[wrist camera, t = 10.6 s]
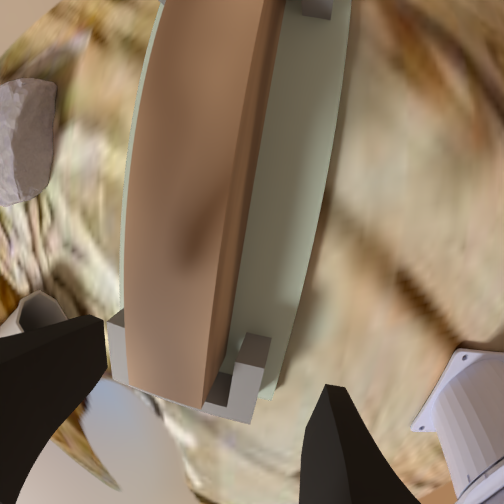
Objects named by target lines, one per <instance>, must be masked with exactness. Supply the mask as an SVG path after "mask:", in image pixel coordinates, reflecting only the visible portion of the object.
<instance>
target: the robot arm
mask: <svg viewBox="0 0 504 504" xmlns="http://www.w3.org/2000/svg"><path fill="white" fill-rule="evenodd" d="M464 355H465V357H463V356H464ZM462 357H463V358H462ZM107 367H108V365H107V356H106V347H105V335H104V322H103V320H102V319H99V318H97V317H95V316H92V315H90V314H89V315H84V316H80V317H76V318H72V319H69V320H65V321H62V322H59V323H55V324H52V325H48V326H45V327H41V328H38V329H34V330H31V331H27V332H22V333H18V334H14V335H10V336H6V337H1V338H0V504H16V501H17V498H18V496H19V493H20V490H21V488H22V486H23V484H24V482H25V480H26V478H27V476H28V474H29V472H30V470H31V468H32V466H33V464H34V463H35V461H36V459H37V457H38V456H39V454H40V453H41V451H42V450H43V448H44V447H45V445H46V444H47V442H48V441H49V439H50V438H51V436H52V435H53V434H54V432H55V431H56V430H57V429H58V427H59V426H60V425H61V424H62V423H63V422H64V421H65V420H66V419H67V417H68V416H69V415H70V414H71V413H72V412H73V411H74V410H75V409H76V408H77V406H78V405H79V404H80V403H81V402H82V401H83V400H84V399H85V398H86V396H87V395H88V394H89V393H90V392H91V391H92V390H93V388H94V387H95V386H96V384H97V383H98V381H99V380H100V378H101V377H102V375H103V374H104V372H105V371H106V369H107ZM410 428H411V431H413V432H437V435H438V438H439V441H440V444H441V447H442V450H443V453H444V456H445V459H446V462H447V465H448V469H449V472H450V475H451V479H452V482H453V486H454V489H455V493H456V497H457V502H456V503H454V504H504V353H503V352H491V351H481V350H471V349H462V348H460V349H457V350H456V351H455V352H454V353H453V355H452V357H451V359H450V361H449V363H448V365H447V366H446V368H445V370H444V372H443V374H442V376H441V377H440V379H439V381H438V383H437V385H436V386H435V388H434V390H433V391H432V393H431V395H430V396H429V398H428V400H427V401H426V403H425V404H424V406H423V408H422V409H421V411H420V412H419V414H418V415H417V417H416V418H415V420H414V421H413V423H412V424H411V426H410ZM299 504H421V503H420V502H419V501H418V500H417V499H416V498H415V497H414V496H413V494H412V493H411V492H410V491H409V490H408V488H407V487H406V486H405V485H404V484H403V482H402V481H401V480H400V479H399V477H398V476H397V475H396V473H395V472H394V471H393V469H392V468H391V467H390V465H389V464H388V462H387V461H386V459H385V458H384V456H383V455H382V453H381V451H380V450H379V448H378V447H377V445H376V443H375V441H374V440H373V438H372V436H371V435H370V433H369V431H368V429H367V428H366V426H365V424H364V422H363V420H362V418H361V417H360V415H359V413H358V411H357V409H356V407H355V405H354V403H353V401H352V399H351V397H350V395H349V394H348V392H347V390H346V388H345V387H340V386H334V385H328V384H325V386H324V389H323V391H322V393H321V395H320V398H319V400H318V402H317V404H316V407H315V409H314V411H313V413H312V415H311V418H310V420H309V422H308V424H307V426H306V429H305V435H304V441H303V447H302V454H301V472H300V493H299Z"/></svg>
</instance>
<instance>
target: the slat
mask: <svg viewBox="0 0 504 504" xmlns="http://www.w3.org/2000/svg"><path fill="white" fill-rule="evenodd" d="M285 4H286V0H166V2H165V5H164V8H163V11H162V14H161V18H160V21H159V24H158V28H157V32H156V35H155V39H154V43H153V46H152V50H151V54H150V58H149V63H148V67H147V71H146V76H145V80H144V85H143V90H142V95H141V100H140V105H139V111H138V117H137V123H136V129H135V135H134V142H133V150H132V157H131V165H130V174H129V184H128V195H127V207H126V222H125V242H124V322H125V342H126V356H127V369H128V379H129V385H131V386H134V387H136V388H139V389H142V390H144V391H147V392H149V393H152V394H155V395H158V396H160V397H163V398H166V399H169V400H172V401H175V402H178V403H181V404H184V405H187V406H190V407H193V408H197V409H200V410H201V409H202V407H203V405H204V402H205V400H206V398H207V396H208V394H209V391H210V389H211V387H212V385H213V383H214V380H215V378H216V376H217V374H218V372H219V369H220V367H221V365H222V363H223V361H224V358H225V356H226V351H227V345H228V338H229V332H230V325H231V319H232V313H233V307H234V300H235V294H236V288H237V282H238V275H239V269H240V263H241V257H242V251H243V245H244V239H245V233H246V226H247V220H248V214H249V208H250V202H251V196H252V191H253V185H254V179H255V173H256V167H257V161H258V155H259V149H260V144H261V138H262V132H263V126H264V121H265V115H266V109H267V103H268V98H269V92H270V86H271V81H272V75H273V70H274V64H275V59H276V53H277V48H278V42H279V37H280V31H281V26H282V20H283V15H284V9H285Z"/></svg>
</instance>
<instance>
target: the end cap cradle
mask: <svg viewBox="0 0 504 504" xmlns="http://www.w3.org/2000/svg"><path fill="white" fill-rule="evenodd" d="M159 1H160V2H161V3H160V6H159V9H158V12H157V16H156V19H155V22H154V26H153V29H152V33H151V36H150V40H149V44H148V47H147V51H146V55H145V59H144V64H143V68H142V72H141V77H140V81H139V86H138V91H137V96H136V101H135V107H134V112H133V118H132V124H131V131H130V137H129V144H128V152H127V160H126V168H125V178H124V188H123V200H122V214H121V233H120V311H119V312H118V313H117V314H115V315H114V316H113V317H112V318H110V319H109V320H108V321H107V330H108V341H109V351H110V360H111V368H112V376H113V380H115V381H118V382H120V383H122V384H125V385H127V386H130V387H132V388H135V389H137V390H140V391H142V392H145V393H147V394H150V395H153V396H155V397H158V398H161V399H164V400H167V401H170V402H172V403H175V404H178V405H182V406H185V407H188V408H191V409H194V410H197V411H201V412H204V413H208V414H211V415H215V416H218V417H222V418H226V419H230V420H234V421H238V422H242V423H246V424H250V423H251V419H252V415H253V412H254V408H255V404H256V400H257V398H261V399H265V400H270V401H272V398H273V395H274V391H275V388H276V385H277V381H278V378H279V374H280V371H281V367H282V364H283V360H284V357H285V353H286V350H287V346H288V342H289V339H290V335H291V331H292V328H293V324H294V320H295V316H296V312H297V308H298V305H299V301H300V297H301V293H302V289H303V284H304V280H305V276H306V272H307V268H308V263H309V259H310V255H311V250H312V246H313V242H314V237H315V232H316V228H317V223H318V218H319V214H320V209H321V204H322V199H323V194H324V189H325V184H326V179H327V173H328V168H329V163H330V157H331V151H332V146H333V140H334V134H335V128H336V122H337V116H338V109H339V103H340V96H341V89H342V82H343V75H344V67H345V59H346V51H347V42H348V33H349V24H350V13H351V2H352V0H286V4H285V9H284V15H283V20H282V26H281V31H280V37H279V42H278V48H277V53H276V59H275V64H274V70H273V75H272V81H271V86H270V92H269V98H268V103H267V109H266V115H265V121H264V126H263V132H262V138H261V144H260V149H259V155H258V161H257V167H256V173H255V179H254V185H253V191H252V196H251V202H250V208H249V214H248V220H247V226H246V233H245V239H244V245H243V251H242V257H241V263H240V269H239V275H238V282H237V288H236V294H235V300H234V307H233V313H232V319H231V325H230V332H229V338H228V345H227V351H226V356H225V358H224V361H223V363H222V365H221V367H220V369H219V372H218V374H217V376H216V378H215V380H214V383H213V385H212V387H211V389H210V391H209V394H208V396H207V398H206V400H205V402H204V405H203V407H202V409H201V410H200V409H197V408H193V407H190V406H187V405H184V404H181V403H178V402H175V401H172V400H169V399H166V398H163V397H160V396H158V395H155V394H152V393H149V392H147V391H144V390H142V389H139V388H136V387H134V386H131V385H129V379H128V369H127V356H126V342H125V322H124V242H125V222H126V207H127V195H128V184H129V174H130V165H131V157H132V150H133V142H134V135H135V129H136V123H137V117H138V111H139V105H140V100H141V95H142V90H143V85H144V80H145V76H146V71H147V67H148V63H149V58H150V54H151V50H152V46H153V43H154V39H155V35H156V32H157V28H158V24H159V21H160V18H161V14H162V11H163V8H164V5H165V2H166V0H159Z"/></svg>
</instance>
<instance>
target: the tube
mask: <svg viewBox="0 0 504 504" xmlns="http://www.w3.org/2000/svg"><path fill="white" fill-rule="evenodd" d="M65 320H68V318H67V317H66V315H65V314H64V312H63V310H62V309H61V307H60V305H59V304H58V302H57V300H56V299H54V298H52V297H51V296H49V295H47V294H46V293H44V292H42V291H41V290H37V291H35V292H33V293H32V294H30V295H28V296H26V297H24V298H23V299H21V300H20V302H19V306H18V308H17V309H16V310H15V311H14V312H13V313H12V314H11V315H10V316H9V317H8V319H7V320H6V321H5V322H4V323H3V324H2V325H1V326H0V338H1V337H6V336H10V335H14V334H18V333H22V332H27V331H31V330H34V329H38V328H41V327H45V326H48V325H52V324H55V323H59V322H62V321H65Z"/></svg>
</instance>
